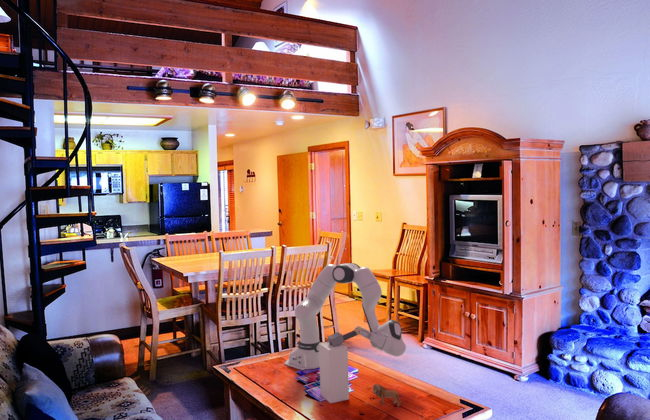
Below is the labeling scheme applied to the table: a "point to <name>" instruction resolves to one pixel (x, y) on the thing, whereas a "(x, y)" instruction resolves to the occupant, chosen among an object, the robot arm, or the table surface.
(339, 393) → the stand
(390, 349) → the robot arm
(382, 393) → the lion figurine
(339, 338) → the dark grey elongated piece
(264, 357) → the table surface
